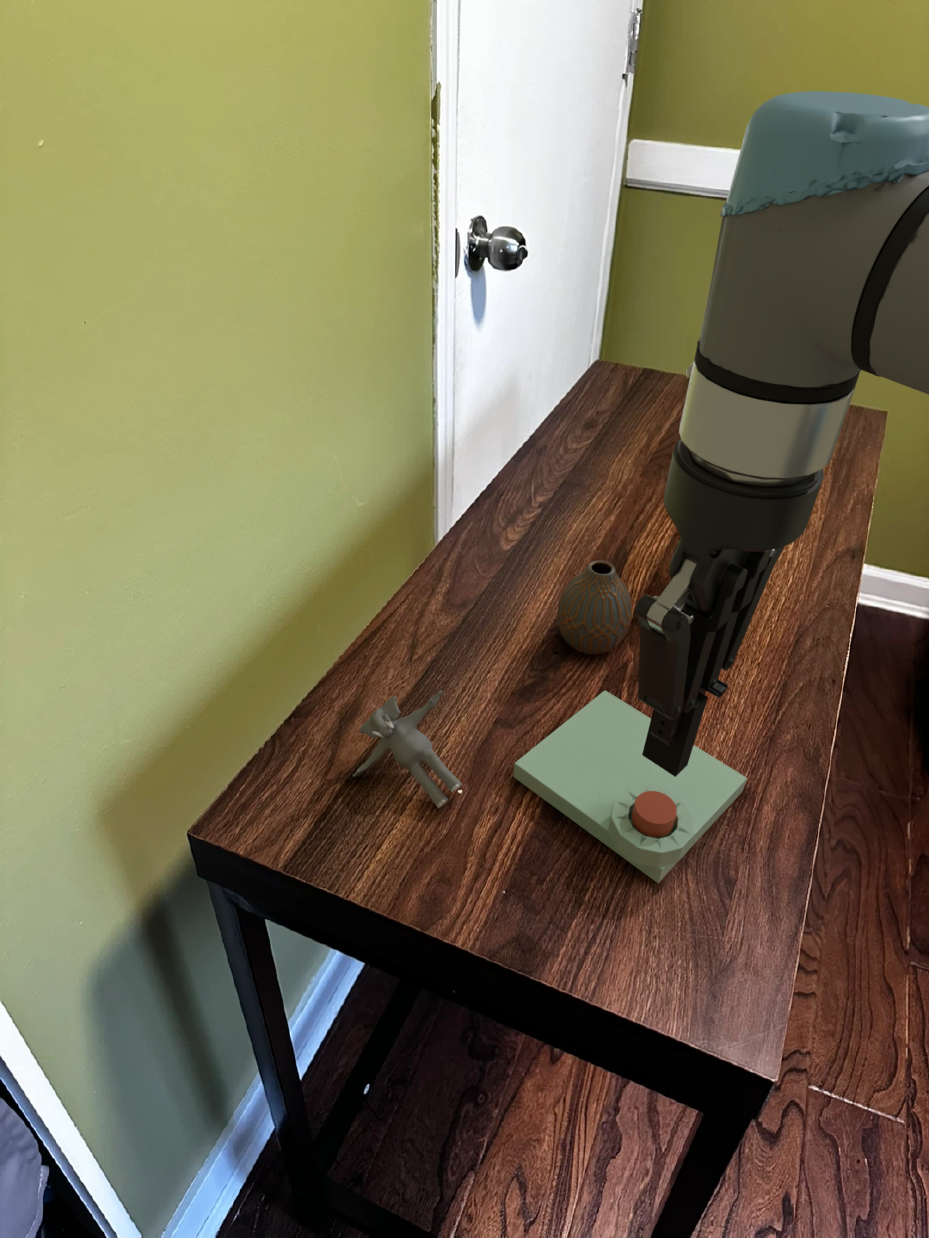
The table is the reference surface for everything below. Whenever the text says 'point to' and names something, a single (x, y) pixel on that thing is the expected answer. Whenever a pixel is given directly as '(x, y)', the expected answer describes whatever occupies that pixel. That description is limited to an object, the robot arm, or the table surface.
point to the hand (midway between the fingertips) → (664, 759)
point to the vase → (595, 609)
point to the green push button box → (625, 783)
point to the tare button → (654, 814)
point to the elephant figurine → (408, 746)
